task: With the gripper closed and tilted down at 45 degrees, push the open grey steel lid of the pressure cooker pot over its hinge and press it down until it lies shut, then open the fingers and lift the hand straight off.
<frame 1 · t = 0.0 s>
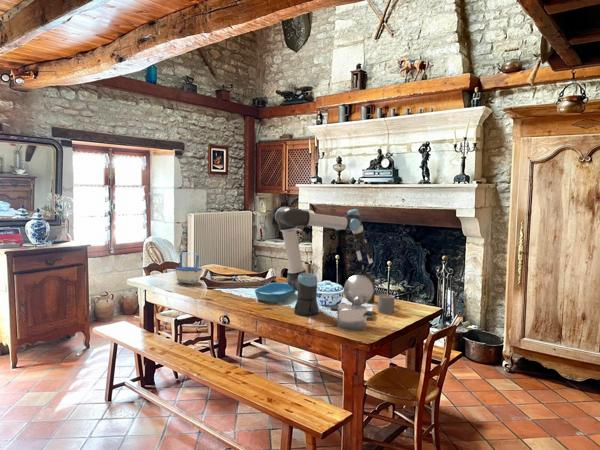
hand: (365, 261, 285), 28 cm above the table, tool tilted 20°, fingers open, 13 cm apart
basket: (188, 282, 331), on the table
pressure cooker pot: (351, 326, 231), on the table
canister: (366, 301, 289), on the table
coffee mug: (386, 311, 265), on the table
casserole dish: (276, 297, 292), on the table
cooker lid: (358, 290, 242), point 18 cm above the table, hinge at 105.0°
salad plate: (354, 314, 256), on the table
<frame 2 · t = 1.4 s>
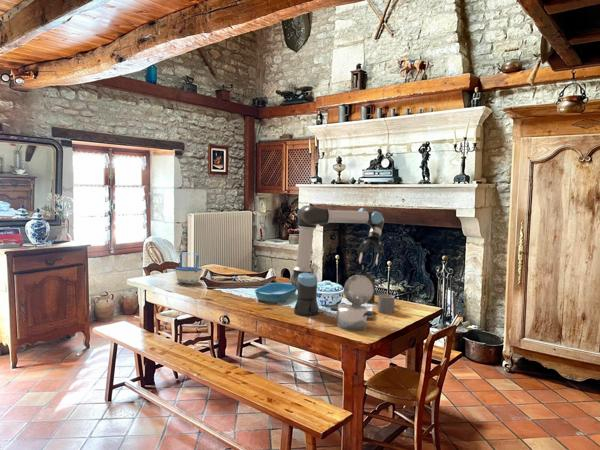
hand: (367, 262, 259), 31 cm above the table, tool tilted 45°, fingers open, 10 cm apart
nothing on the table moved.
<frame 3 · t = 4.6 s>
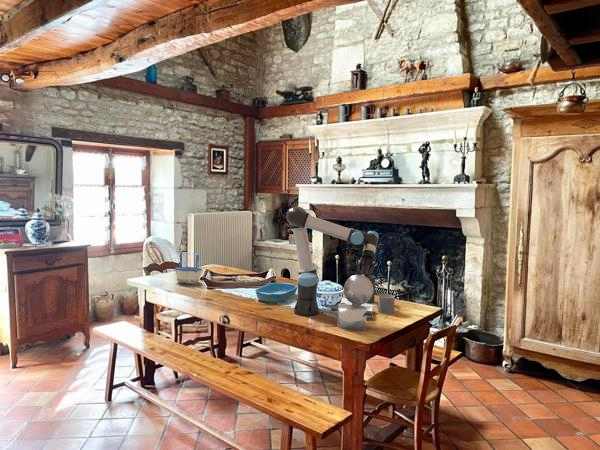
hand: (361, 285, 243), 20 cm above the table, tool tilted 45°, fingers closed
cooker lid: (358, 290, 241), point 18 cm above the table, hinge at 103.1°, touching gripper
everything else where it was.
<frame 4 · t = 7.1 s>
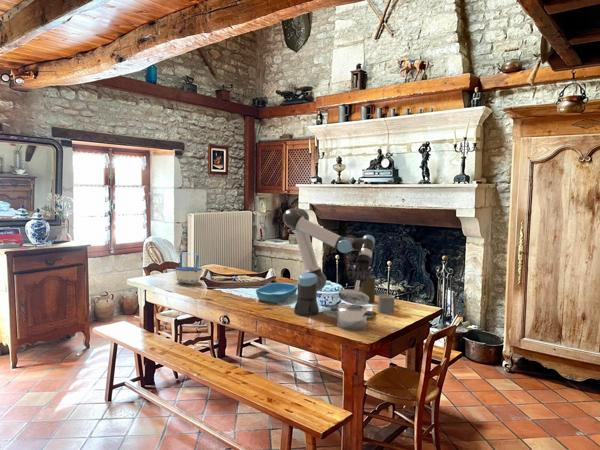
hand: (356, 291, 233), 19 cm above the table, tool tilted 45°, fingers closed, pressing on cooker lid
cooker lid: (354, 295, 233), point 16 cm above the table, hinge at 36.1°, touching gripper
everything else where it was.
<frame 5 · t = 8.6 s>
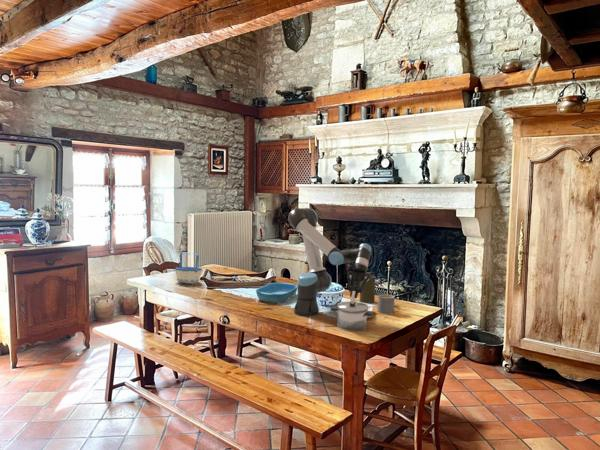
hand: (351, 302, 227), 14 cm above the table, tool tilted 45°, fingers closed
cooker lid: (352, 304, 231), point 12 cm above the table, hinge at -0.3°
everything else where it was.
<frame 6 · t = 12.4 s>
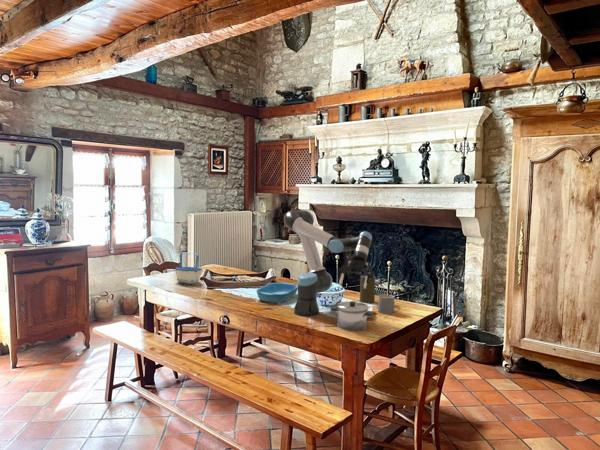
hand: (352, 285, 227), 23 cm above the table, tool tilted 45°, fingers open, 13 cm apart
nothing on the table moved.
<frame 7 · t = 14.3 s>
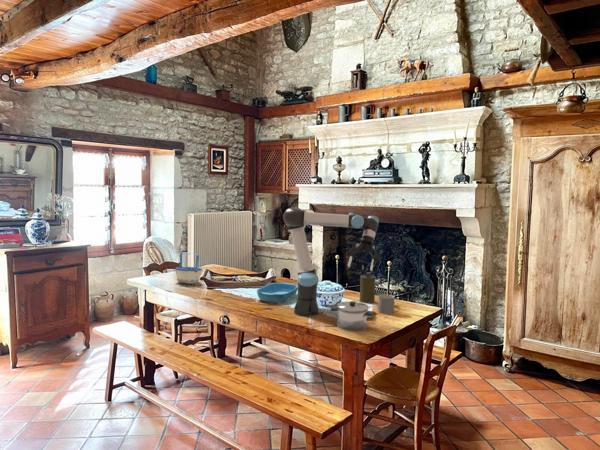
hand: (359, 268, 247), 29 cm above the table, tool tilted 40°, fingers open, 13 cm apart
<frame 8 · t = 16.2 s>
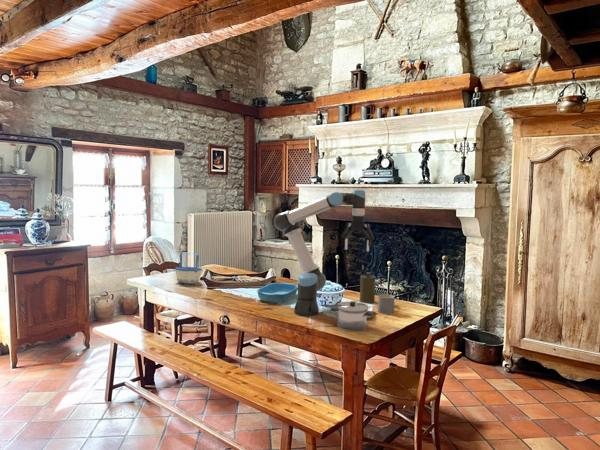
hand: (356, 250, 256), 39 cm above the table, tool pointing down, fingers open, 13 cm apart
at the end: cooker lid at +0° (first picture: +105°) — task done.
